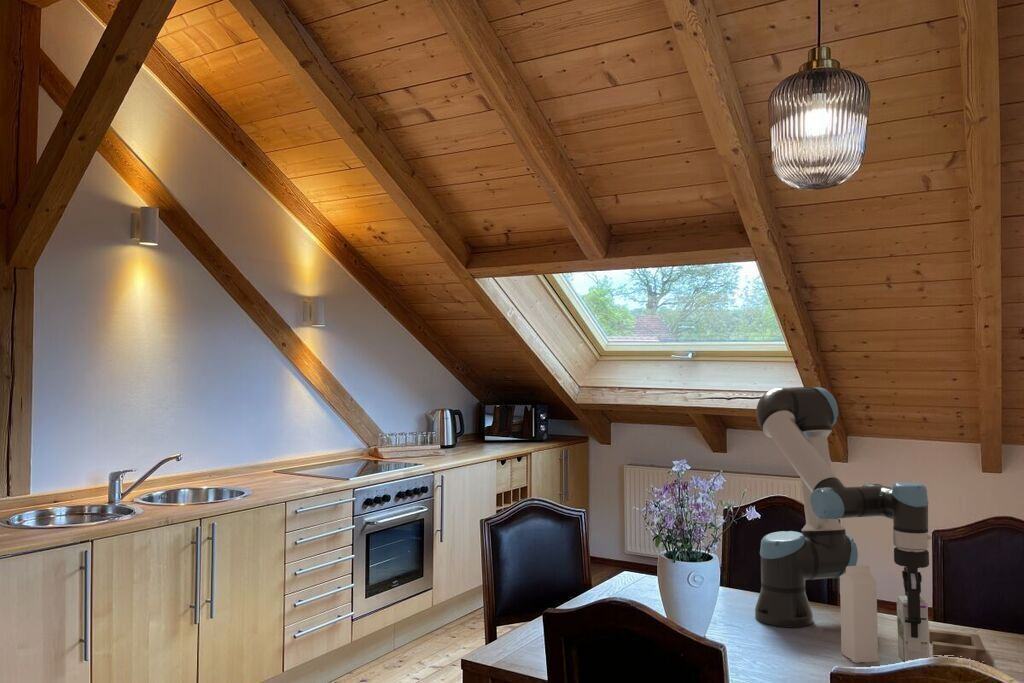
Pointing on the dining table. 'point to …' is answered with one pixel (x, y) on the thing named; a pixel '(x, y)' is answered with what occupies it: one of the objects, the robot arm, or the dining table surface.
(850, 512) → the robot arm
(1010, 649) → the dining table surface
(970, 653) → the brown square tray
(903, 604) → the syrup box
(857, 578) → the milk
